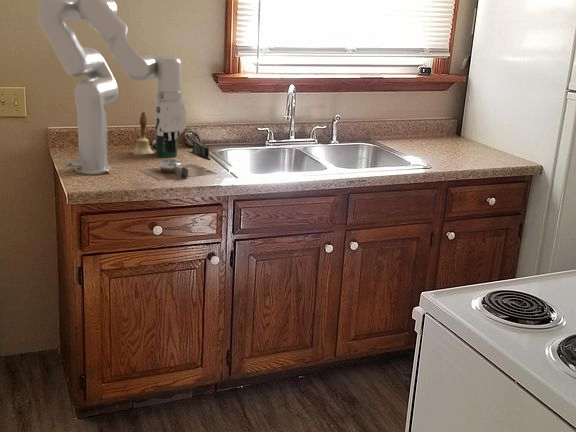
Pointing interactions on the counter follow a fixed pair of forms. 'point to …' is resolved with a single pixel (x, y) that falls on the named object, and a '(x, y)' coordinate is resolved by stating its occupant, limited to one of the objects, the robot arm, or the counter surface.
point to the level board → (192, 172)
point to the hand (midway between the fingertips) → (170, 151)
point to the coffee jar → (161, 148)
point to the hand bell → (142, 139)
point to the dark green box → (201, 149)
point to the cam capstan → (174, 167)
